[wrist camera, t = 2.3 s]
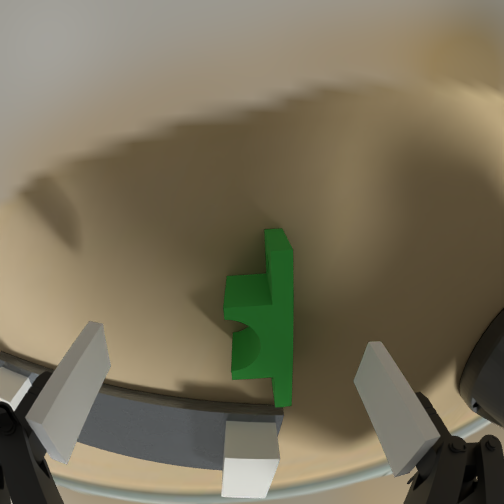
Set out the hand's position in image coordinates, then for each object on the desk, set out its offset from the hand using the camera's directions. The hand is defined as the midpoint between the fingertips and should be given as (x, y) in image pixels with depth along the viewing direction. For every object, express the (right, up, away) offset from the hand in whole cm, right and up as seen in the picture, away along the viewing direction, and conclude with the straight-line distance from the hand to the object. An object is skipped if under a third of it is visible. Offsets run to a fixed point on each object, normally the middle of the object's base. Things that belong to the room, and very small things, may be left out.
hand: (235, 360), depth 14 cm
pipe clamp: (+1, +2, +6) cm, 6 cm away
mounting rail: (-11, -11, +9) cm, 18 cm away
